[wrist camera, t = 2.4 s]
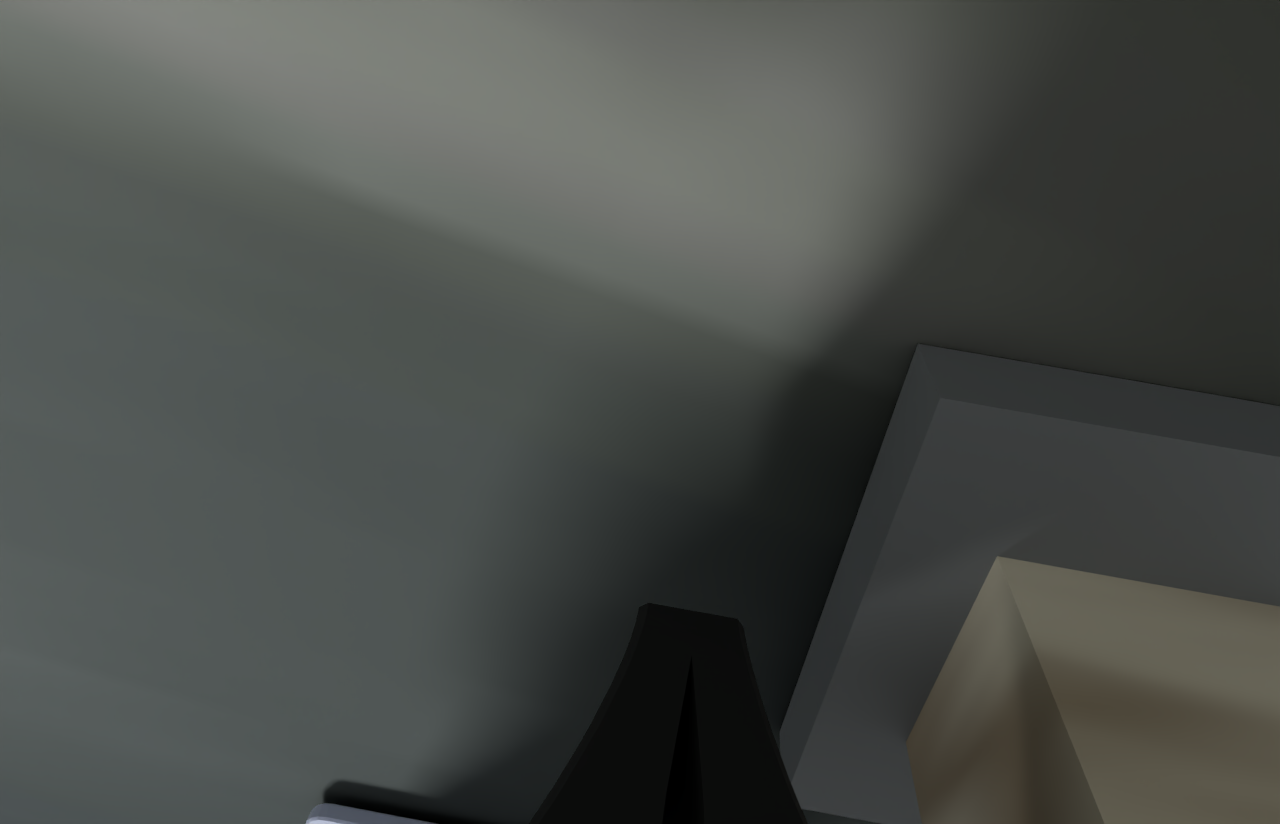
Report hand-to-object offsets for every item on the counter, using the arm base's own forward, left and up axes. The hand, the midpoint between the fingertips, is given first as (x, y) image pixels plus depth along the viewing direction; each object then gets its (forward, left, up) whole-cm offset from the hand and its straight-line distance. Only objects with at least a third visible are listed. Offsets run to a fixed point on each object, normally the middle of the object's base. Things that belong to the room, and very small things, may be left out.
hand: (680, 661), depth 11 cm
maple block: (0, -6, -1) cm, 6 cm away
